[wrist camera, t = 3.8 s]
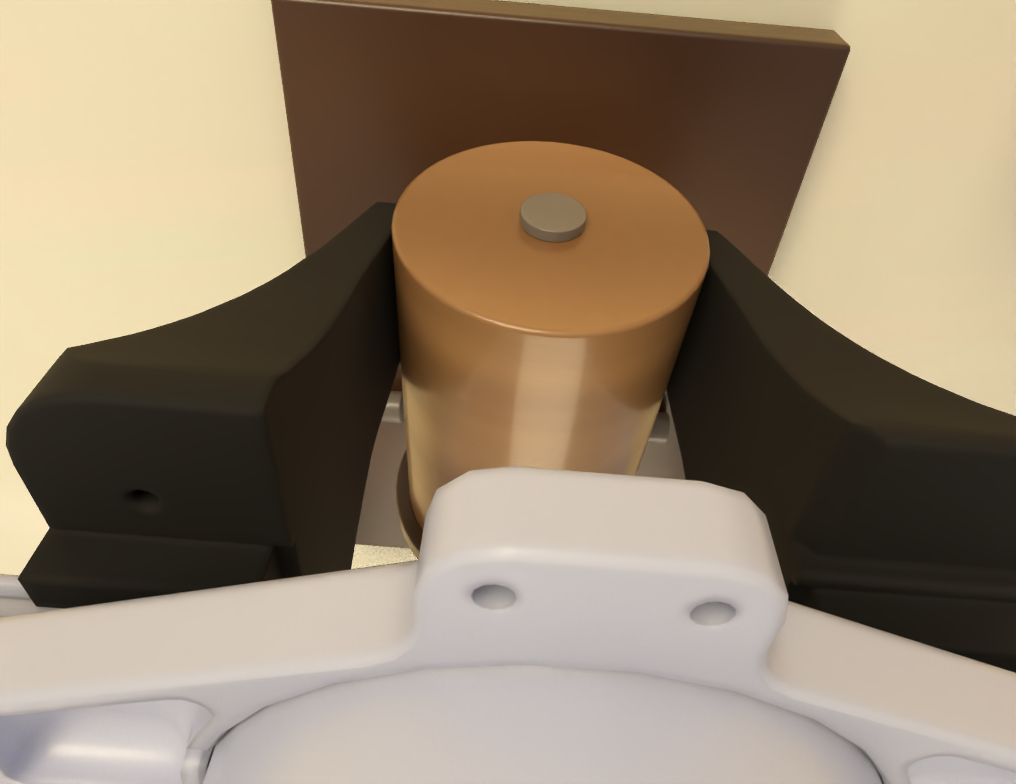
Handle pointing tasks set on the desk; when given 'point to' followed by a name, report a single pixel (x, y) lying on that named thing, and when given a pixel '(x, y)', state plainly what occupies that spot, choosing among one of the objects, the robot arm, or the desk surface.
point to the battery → (536, 312)
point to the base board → (546, 126)
